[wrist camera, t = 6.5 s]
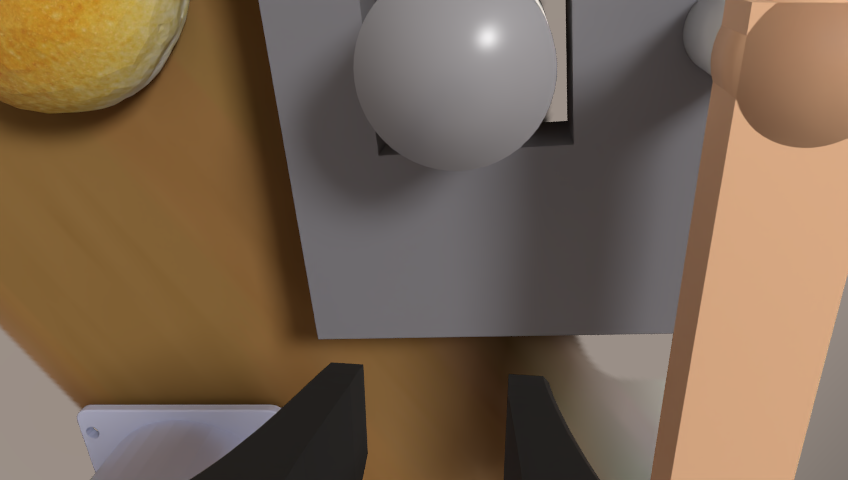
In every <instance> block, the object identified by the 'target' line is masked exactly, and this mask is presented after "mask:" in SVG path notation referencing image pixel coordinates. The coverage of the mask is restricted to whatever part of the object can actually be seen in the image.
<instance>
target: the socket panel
mask: <svg viewBox="0 0 848 480" xmlns="http://www.w3.org/2000/svg"><path fill="white" fill-rule="evenodd" d="M376 1H377V0H259V6H260V12H261V17H262V23H263V29H264V34H265V40H266V46H267V51H268V57H269V63H270V68H271V74H272V80H273V85H274V91H275V97H276V102H277V108H278V114H279V119H280V125H281V131H282V136H283V142H284V148H285V153H286V159H287V165H288V170H289V176H290V182H291V187H292V193H293V199H294V204H295V210H296V216H297V221H298V227H299V233H300V238H301V244H302V250H303V255H304V261H305V267H306V272H307V278H308V284H309V289H310V295H311V301H312V306H313V312H314V318H315V323H316V329H317V335H318V339H362V338H424V337H485V336H547V335H606V334H607V335H608V334H670V333H674V326H675V320H676V314H677V307H678V301H679V294H680V288H681V282H682V275H683V269H684V262H685V256H686V249H687V243H688V237H689V230H690V224H691V217H692V211H693V205H694V198H695V192H696V185H697V179H698V173H699V166H700V160H701V153H702V147H703V141H704V134H705V128H706V121H707V115H708V109H709V102H710V96H711V89H712V83H713V81H712V76H711V64H710V63H711V53H712V48H713V44H714V41H715V38H716V35H717V33H718V31H719V29H720V27H721V25H722V19H723V12H724V6H725V0H566V49H567V50H566V51H567V115H568V116H567V118H568V121H560V122H543V123H541V124H540V126H539V127H538V129H537V130H536V131H535V132H534V134H533V135H532V136H531V137H530V139H529V140H527V141H526V142H525V143H524V144H523V145H522V146H521V147H520V148H519V149H517V150H516V151H515V152H513V153H512V154H511V155H509V156H507V157H506V158H504V159H502V160H500V161H498V162H496V163H493V164H491V165H488V166H485V167H481V168H478V169H473V170H465V171H446V170H438V169H434V168H430V167H426V166H423V165H420V164H418V163H415V162H413V161H411V160H409V159H407V158H406V157H404V156H402V155H401V154H399V153H398V152H396V151H395V150H394V149H392V148H391V147H390V146H389V145H388V144H387V143H386V142H385V141H383V140H382V138H381V137H380V136H379V135H378V134H377V133H376V131H375V130H374V129H373V127H372V126H371V124H370V123H369V121H368V120H367V118H366V116H365V114H364V112H363V110H362V107H361V105H360V102H359V99H358V96H357V92H356V87H355V82H354V70H353V66H354V52H355V46H356V41H357V38H358V35H359V32H360V29H361V26H362V24H363V22H364V20H365V18H366V16H367V14H368V13H369V11H370V9H371V8H372V6H373V5H374V4H375V2H376Z"/></svg>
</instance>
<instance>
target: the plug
mask: <svg viewBox="0 0 848 480" xmlns="http://www.w3.org/2000/svg"><path fill="white" fill-rule="evenodd" d="M353 70H354V82H355V87H356V92H357V96H358V99H359V102H360V105H361V107H362V110H363V112H364V114H365V116H366V118H367V120H368V121H369V123H370V124H371V126H372V127H373V129H374V130H375V131H376V133H377V134H378V135H379V136H380V137H381V138H382V140H383V141H385V142H386V143H387V144H388V145H389V146H390V147H391V148H392V149H394V150H395V151H396V152H398V153H399V154H401V155H402V156H404V157H406V158H407V159H409V160H411V161H413V162H415V163H418V164H420V165H423V166H426V167H430V168H434V169H438V170H446V171H465V170H473V169H478V168H481V167H485V166H488V165H491V164H493V163H496V162H498V161H500V160H502V159H504V158H506V157H507V156H509V155H511V154H512V153H513V152H515V151H516V150H517V149H519V148H520V147H521V146H522V145H523V144H524V143H525V142H526V141H527V140H529V139H530V137H531V136H532V135H533V134H534V132H535V131H536V130H537V129H538V127H539V126H540V124H541V122H542V121H543V119H544V117H545V116H546V113H547V111H548V109H549V107H550V104H551V101H552V98H553V94H554V91H555V85H556V78H557V58H556V49H555V45H554V41H553V37H552V33H551V30H550V28H549V24H548V21H547V18H546V15H545V12H544V9H543V7H542V4H541V1H540V0H377V1H376V2H375V4H374V5H373V6H372V8H371V9H370V11H369V13H368V14H367V16H366V18H365V20H364V22H363V24H362V26H361V29H360V32H359V35H358V38H357V41H356V46H355V52H354V66H353Z"/></svg>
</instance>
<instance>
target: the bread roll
mask: <svg viewBox="0 0 848 480" xmlns="http://www.w3.org/2000/svg"><path fill="white" fill-rule="evenodd" d="M189 3H190V0H0V101H1V102H4V103H6V104H9V105H11V106H14V107H16V108H19V109H25V110H31V111H37V112H43V113H48V114H52V113H70V112H84V111H92V110H99V109H104V108H107V107H110V106H113V105H115V104H117V103H119V102H121V101H122V100H124V99H125V98H128V97H130V96H133V95H134V94H135V93H137V92H138V91H140V90H141V89H142V88H144V87H145V86H146V85H148V84H149V83H150V82H151V81H152V80H153V79H154V77H155V76H156V75H157V74H158V73H159V72H160V71H161V69H162V68H163V66H164V64H165V63H166V61H167V59H168V57H169V55H170V53H171V51H172V49H173V47H174V46H175V44H176V42H177V40H178V39H179V36H180V34H181V31H182V29H183V26H184V23H185V20H186V17H187V12H188V8H189Z"/></svg>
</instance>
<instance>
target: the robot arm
mask: <svg viewBox="0 0 848 480" xmlns="http://www.w3.org/2000/svg"><path fill="white" fill-rule="evenodd" d="M77 421H78V424H79V427H80V430H81V432H82V436H83V438H84V441H85V444H86V447H87V449H88V453H89V456H90V458H91V461H92V464H93V467H94V470H95V472H96V473H95V475H94V476H93V477H92V478H91V480H362V479H363V474H364V469H365V464H366V459H367V454H368V450H367V430H366V410H365V390H364V370H363V365H361V364H345V363H330V364H329V365H328V366H327V367H326V368H324V369H323V370H322V371H321V372H320V373H319V374H318V375H317V376H316V377H315V378H314V379H312V380H311V381H310V382H309V383H308V384H307V385H306V386H305V387H304V388H303V389H302V390H301V391H300V392H299V393H298V394H297V395H296V396H294V397H293V398H292V399H291V400H290V401H289V402H288V403H287V404H286V405H285V406H284V407H282V408H280V407H278V406H276V405H87V406H85V407H84V408H83V409H82V410H81V411H80V412H79V413H78V415H77ZM94 428H96V429H97V430H98V431H96V430H95V429H94ZM504 480H600V479H599V478H598V476H597V475H596V473H595V472H594V470H593V469H592V467H591V465H590V464H589V462H588V461H587V459H586V458H585V456H584V454H583V452H582V451H581V449H580V447H579V446H578V444H577V442H576V440H575V439H574V437H573V435H572V434H571V432H570V430H569V428H568V426H567V424H566V422H565V420H564V418H563V416H562V414H561V412H560V410H559V408H558V406H557V403H556V401H555V399H554V396H553V394H552V391H551V388H550V385H549V382H548V381H547V380H546V379H545V378H544V377H543V376H529V375H514V374H509V379H508V399H507V420H506V441H505V461H504Z"/></svg>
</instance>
